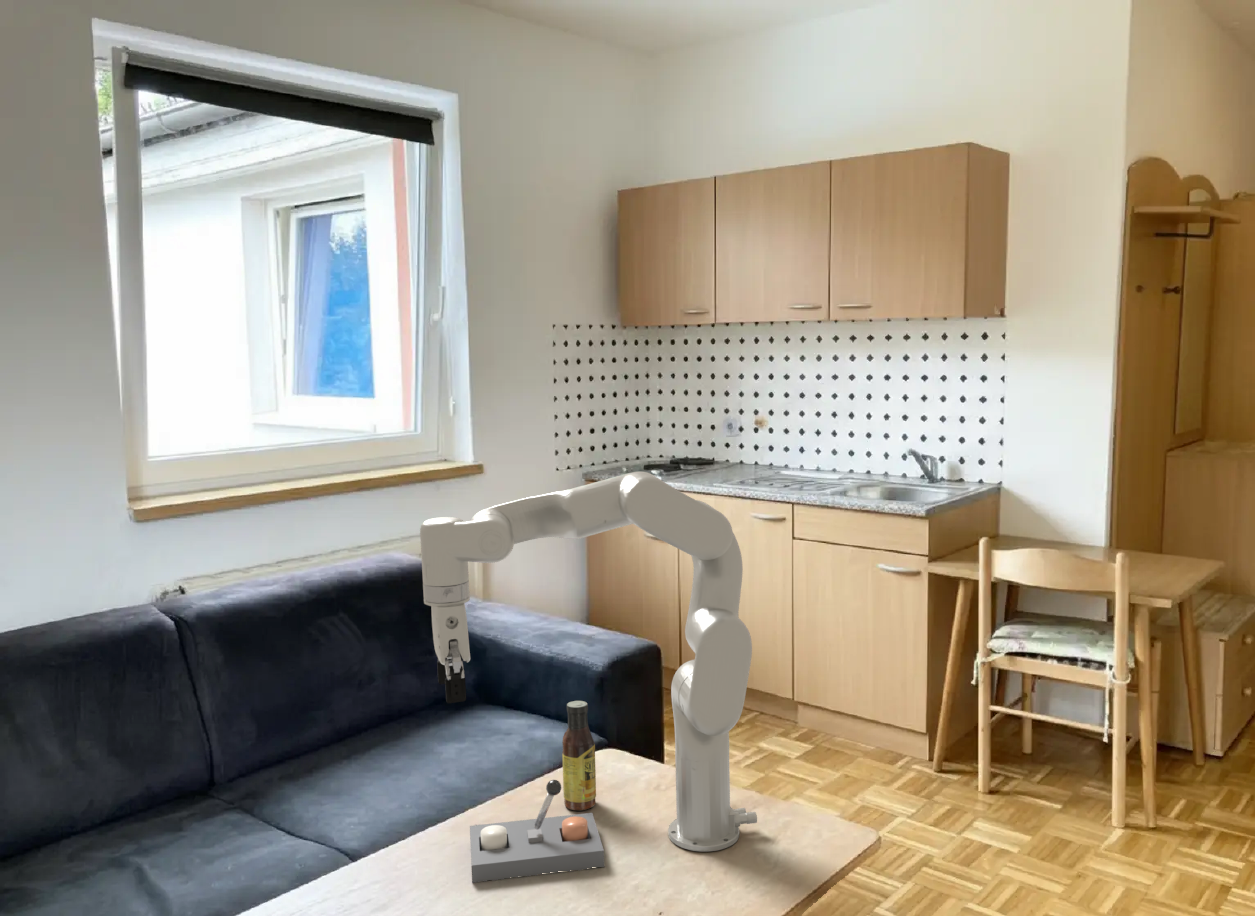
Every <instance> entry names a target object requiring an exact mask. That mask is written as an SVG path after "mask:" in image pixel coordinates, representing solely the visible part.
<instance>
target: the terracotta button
mask: <svg viewBox="0 0 1255 916" xmlns="http://www.w3.org/2000/svg"><path fill="white" fill-rule="evenodd" d="M562 836H563V842H566V841H575V840H584V839H588V826H587V820H586V819H585V818H583V817H569V818H566V819H565V820H563V822H562Z"/></svg>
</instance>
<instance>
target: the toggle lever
mask: <svg viewBox="0 0 1255 916" xmlns="http://www.w3.org/2000/svg"><path fill="white" fill-rule="evenodd" d="M545 789H546V792H547V793H546V796H545V798H544V801H543V803H542V805H541V807H540V810H539V813H538V815H537V817H536V818H535V819H536V822H535V824H534V828H535V829H536V830H538V829H540V828H541V825H542V823H543V821H544V818H546V816H547V814H548V811H549V808H550V806H551V804H552V801H553V799H554V796H557V795H558V794H560V793H561V790H562V784H561V782H560V781H559V780H558V779H550V780H549V781H548V782H547V783H546V788H545Z"/></svg>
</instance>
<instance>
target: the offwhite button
mask: <svg viewBox="0 0 1255 916" xmlns="http://www.w3.org/2000/svg"><path fill="white" fill-rule="evenodd" d="M503 848H507V830H506V828H505V827H503V826H500V825H492V826H488V827H485V828H483V829H482V830H481V851H485V850H494V849H503Z"/></svg>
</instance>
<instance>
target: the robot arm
mask: <svg viewBox="0 0 1255 916" xmlns="http://www.w3.org/2000/svg"><path fill="white" fill-rule="evenodd" d="M630 525H634V526H636V527H637V528H639V529H641V530H642V531H645V532H646V533H647V534H649V535H651V536H653V537H655V538H657V539H659V540H660V541H662V542H664V543H667V544H669V545H671V546H672V547H675V549H678V550H680V551H682V552H684V553H685V554H688V555H689V556H691V559H692V563H693V564H692V565H693V572H692V573H693V575H692V576H693V577H692V585H691V587H692V588H691V591H690V592H691V593H690V599H689V606H688V612H687V616H686V623H685V626H684V635H685V640H686V642H687V644H688V646H689V647H690V649H691V650H692V651H693V653H694V655H695V656H694V659H691V660H688V661H686V662H684V663H683V664H681V665H680V666H679V667H678V668H677V670H676V671H675V674H673V677H672V680H671V688H670V689H671V691H670V694H671V695H670V696H671V705H672V712H673V714H672V716H673V724H674V725H673V726H674V743H675V745H674V746H675V747H674V749H675V751H674V756H675V758H674V759H675V794H676V796H675V799H676V800H675V801H676V819H674V820H673V821H671V823H670V824H669V825H668V829H667V831H668V833H667V834H668V838H669V839H670V841H671V842H672V843H673V844H675V845H676V846H677V847H680V848H681V849H685V850H688V851H692V852H701V853H702V852H705V853H707V852H716V851H721V850H725V849H727V848H729V847H731V846H733V845H734V844H735V843H737V841H738V840H739V838H740V827H741V825H745V824H747V825H751V824H757V823H758V815H757V812H756V811H749V812H747V810H746V809H747V808H746V807H739V808H733V807H731V790H730V789H731V784H730V783H731V782H730V781H731V779H730V772H731V771H730V734H729V733H730V731H731V730H732V729H733V728H734V727H735V725H736V724H737V723H738V722H739V720H740V718H741V716H742V712H743V710H744V705H745V701H746V700H745V699H746V694H747V688H748V687H747V686H748V683H749V682H748V681H749V676H750V669H751V662H752V656H753V643H752V636H751V634H750V631H749V628H748V627H747V626H746V624H745V623H744V622H743V620H741V619H740V618H739V611H740V610H739V609H740V602H741V601H740V600H741V593H742V592H741V591H742V582H743V574H744V573H743V572H744V571H743V559H742V558H743V557H742V552H741V549H740V545H739V541H738V540H737V537H736V535H735V533H734V531H733V527H732V525H731V522H730V521H729V520H728V517H726V516H725V515H724V514H723V513H722V512H720V511H719V510H718V509H715V508H714V507H713V506H711V505H710V504H708V503H706V502H704V501H702V500H698V499H695V498H693V497H691V496H690V495H687V494H686V493H683V492H682V491H680V490H678V489H677V488H674V487H673V486H672V485H670V484H668V483H666V482H665V481H663V480H662V479H660V478H658V477H657V476H655V475H654V474H651V472H647V471H633V472H632V471H631V472H629V473H625V474H621V475H617V476H614V477H610V478H606V479H602V480H598V481H595V482H591V483H588V484H585V485H584V484H583V485H579V486H576V487H573V488H569V489H565V490H558V491H553V492H550V493H545V494H539V495H535V496H529V497H526V498H525V497H524V498H520V499H516V500H513V501H509V502H505V503H501V504H497V505H493V506H490V507H488V508H484V509H481V510H480V511H478V512H477V513H475V514H474V515H473V516H472V517H471V518H470V520H469V521H464V520H463V519H461V518H459V517H454V516H453V517H452V516H442V517H439V516H438V517H433V518H428V519H426V520H424V522H422V523H421V525H420V528H419V531H420V532H419V534H420V535H419V536H420V555H421V570H422V571H421V572H422V590H423V604H424V605H426V606H429V607H431V609H430V610H431V628H432V640H433V646H434V651H435V655H436V657H437V661H436V664H437V665H436V666H437V682H438V683H437V684H439V685H445V701H446V704H452V703H453V704H455V703H460V702H461V703H462V702H466V700H467V689H466V688H467V687H466V676H465V670H464V662H465V663H469V662H470V661H471V653H470V652H471V651H470V640H469V629H468V628H469V627H468V617H467V611H466V603H468V602H469V601H470V599H471V598H470V597H471V595H470V576H469V575H470V574H469V563H471V562H472V563H484V564H495V563H499V562H502V561H504V560H505V559H506V558H507V557H508V556H510V554H511V553H512V551H513V549H514V545H516V544H521V543H524V542H528V541H532V540H538V539H544V538H557V539H558V538H559V539H564V540H578V539H584V538H587V537H590V536H594V535H597V534H600V533H604V532H607V531H608V532H609V531H611V530H615V529H619V528H623V527H626V526H630Z"/></svg>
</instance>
